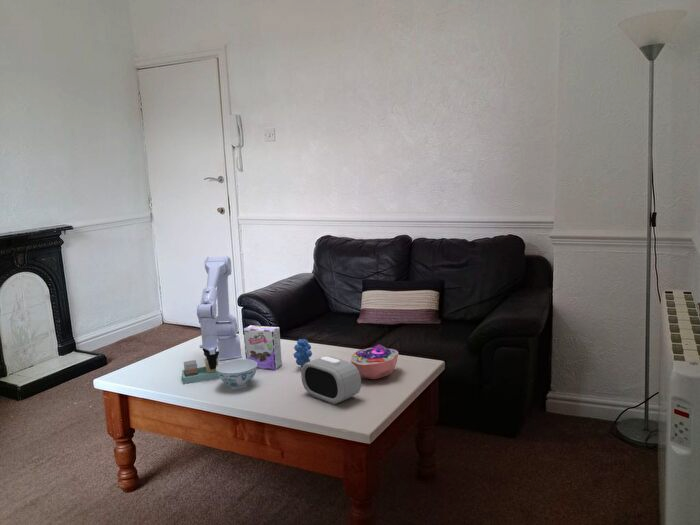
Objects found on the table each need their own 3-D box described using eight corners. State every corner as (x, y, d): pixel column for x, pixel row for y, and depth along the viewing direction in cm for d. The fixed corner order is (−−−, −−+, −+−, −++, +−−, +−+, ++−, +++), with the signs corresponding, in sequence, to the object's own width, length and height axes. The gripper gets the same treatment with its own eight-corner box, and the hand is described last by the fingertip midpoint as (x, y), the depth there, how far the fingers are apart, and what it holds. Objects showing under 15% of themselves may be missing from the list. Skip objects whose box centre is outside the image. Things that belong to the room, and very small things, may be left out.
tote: (220, 370, 232) (219, 364, 231) (223, 377, 223) (222, 371, 223) (182, 376, 227) (181, 370, 227) (184, 384, 218) (183, 377, 218)
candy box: (245, 367, 233) (242, 328, 230) (253, 362, 238) (250, 324, 236) (275, 370, 228) (272, 330, 225) (282, 365, 233) (279, 326, 231)
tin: (197, 374, 227) (195, 359, 226) (198, 378, 222) (197, 363, 221) (185, 376, 225) (183, 361, 224) (186, 380, 221) (184, 365, 220)
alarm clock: (301, 393, 203) (299, 357, 201) (321, 385, 210) (319, 350, 207) (341, 409, 188) (339, 370, 186) (362, 399, 195) (360, 362, 193)
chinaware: (209, 387, 213) (207, 368, 212) (241, 375, 224) (240, 356, 223) (234, 396, 204) (233, 375, 202) (267, 383, 215) (265, 363, 213)
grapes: (305, 373, 223) (303, 343, 221) (291, 371, 226) (288, 342, 224) (320, 363, 233) (318, 334, 231) (305, 361, 236) (303, 333, 234)
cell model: (340, 379, 215) (338, 350, 213) (375, 364, 229) (373, 336, 227) (375, 389, 203) (373, 359, 201) (409, 372, 218) (408, 344, 216)
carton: (217, 367, 229) (216, 356, 228) (219, 371, 225) (217, 360, 224) (205, 369, 228) (204, 358, 227) (207, 373, 223) (205, 362, 222)
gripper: (196, 330, 229) (200, 362, 231) (200, 340, 216) (203, 374, 218) (214, 327, 231) (217, 360, 234) (219, 337, 218) (222, 371, 220)
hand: (212, 366), depth 226 cm, fingers closed on carton, 4 cm apart
